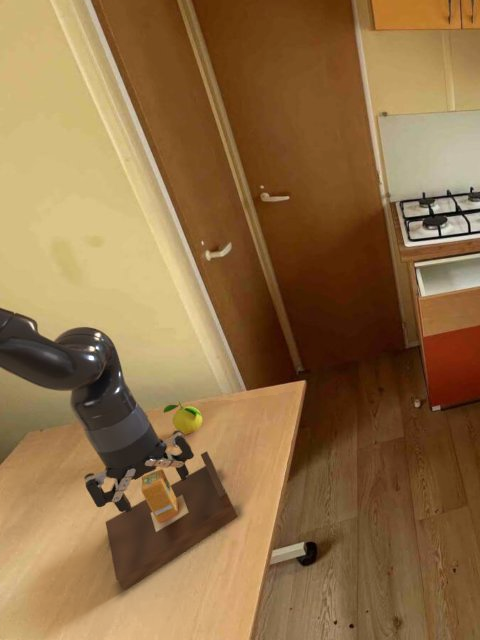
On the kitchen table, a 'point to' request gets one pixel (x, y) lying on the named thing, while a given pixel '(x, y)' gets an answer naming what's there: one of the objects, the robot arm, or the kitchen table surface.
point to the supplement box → (159, 496)
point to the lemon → (185, 418)
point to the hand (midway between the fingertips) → (157, 492)
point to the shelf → (168, 526)
